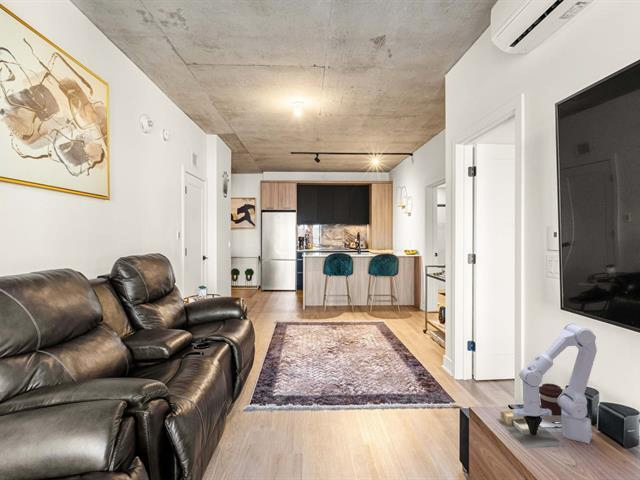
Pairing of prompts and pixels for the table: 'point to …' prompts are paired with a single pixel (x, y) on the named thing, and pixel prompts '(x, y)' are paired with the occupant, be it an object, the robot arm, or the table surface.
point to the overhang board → (528, 440)
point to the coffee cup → (551, 401)
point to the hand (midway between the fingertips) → (533, 434)
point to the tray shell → (522, 426)
